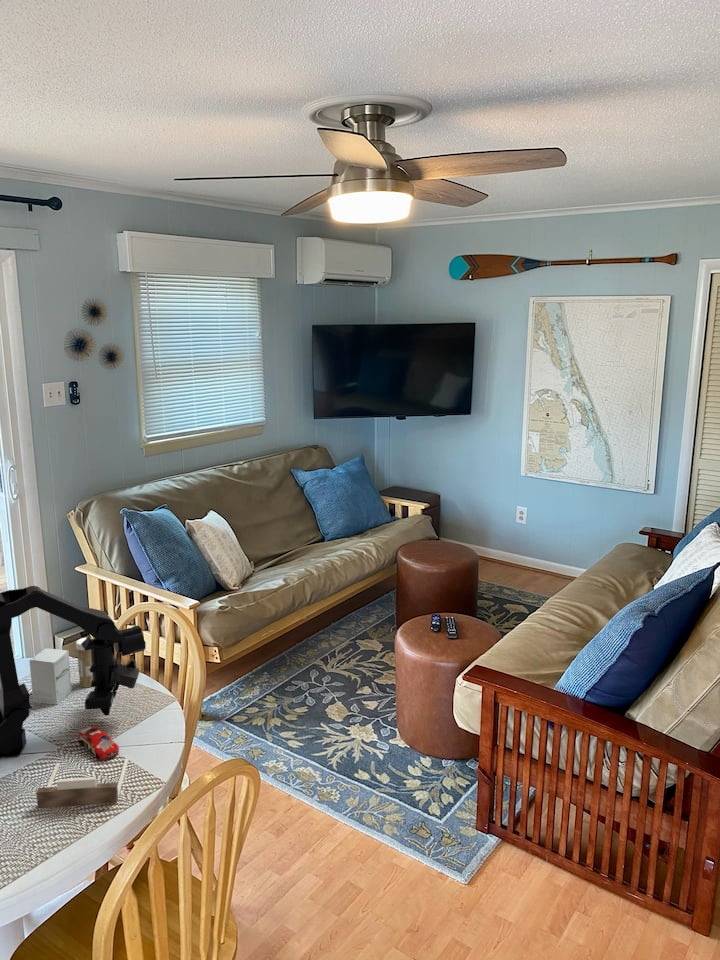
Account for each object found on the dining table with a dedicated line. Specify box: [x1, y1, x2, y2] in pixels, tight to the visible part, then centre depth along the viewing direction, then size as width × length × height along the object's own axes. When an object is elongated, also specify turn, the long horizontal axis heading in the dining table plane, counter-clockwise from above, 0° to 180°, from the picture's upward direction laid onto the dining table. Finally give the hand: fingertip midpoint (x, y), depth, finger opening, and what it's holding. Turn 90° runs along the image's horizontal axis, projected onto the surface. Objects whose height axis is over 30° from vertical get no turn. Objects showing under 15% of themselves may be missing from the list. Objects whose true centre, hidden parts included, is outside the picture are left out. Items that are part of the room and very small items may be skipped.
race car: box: [77, 725, 120, 762], centre depth 177 cm, size 13×5×4 cm, turn 47°
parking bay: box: [36, 757, 130, 809], centre depth 164 cm, size 16×16×6 cm
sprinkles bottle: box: [75, 637, 93, 688], centre depth 205 cm, size 5×5×14 cm
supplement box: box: [29, 647, 72, 706], centre depth 198 cm, size 7×7×13 cm
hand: (107, 714), depth 189 cm, fingers closed
